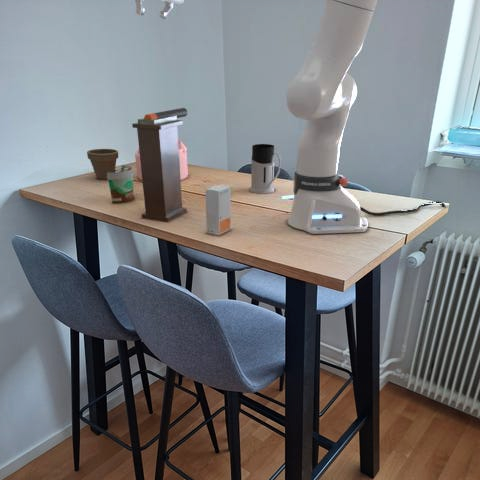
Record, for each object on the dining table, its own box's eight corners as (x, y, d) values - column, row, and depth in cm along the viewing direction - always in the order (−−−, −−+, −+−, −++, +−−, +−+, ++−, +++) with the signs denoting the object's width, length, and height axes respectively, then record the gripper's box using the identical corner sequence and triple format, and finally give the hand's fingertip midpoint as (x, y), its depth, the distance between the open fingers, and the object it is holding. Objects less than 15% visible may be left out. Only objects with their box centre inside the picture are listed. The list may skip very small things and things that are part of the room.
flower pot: (126, 175, 186) (123, 148, 181) (113, 182, 177) (109, 154, 172) (99, 173, 189) (95, 147, 184) (85, 180, 179) (81, 152, 174)
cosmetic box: (219, 236, 125) (218, 191, 119) (206, 233, 127) (204, 188, 121) (231, 229, 130) (231, 186, 124) (218, 227, 132) (217, 184, 126)
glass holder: (264, 185, 172) (266, 142, 165) (289, 194, 162) (291, 149, 154) (245, 189, 168) (245, 145, 160) (268, 198, 158) (270, 151, 150)
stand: (163, 207, 148) (155, 114, 134) (187, 211, 145) (182, 115, 131) (141, 218, 139) (131, 118, 125) (167, 222, 135) (159, 120, 122)
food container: (128, 205, 150) (124, 173, 145) (110, 204, 151) (106, 172, 146) (142, 195, 160) (139, 165, 155) (126, 194, 161) (122, 164, 156)
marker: (180, 115, 140) (180, 107, 139) (187, 117, 140) (187, 108, 138) (143, 123, 125) (143, 113, 124) (151, 124, 125) (151, 115, 123)
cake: (142, 171, 192) (139, 134, 185) (191, 171, 192) (189, 134, 185) (132, 183, 175) (128, 143, 168) (186, 183, 175) (184, 143, 168)
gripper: (143, -44, 118) (131, 16, 127) (196, -29, 133) (182, 24, 142) (126, -54, 120) (116, 6, 129) (180, -38, 135) (168, 15, 144)
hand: (151, 16), depth 135 cm, fingers open, 8 cm apart
